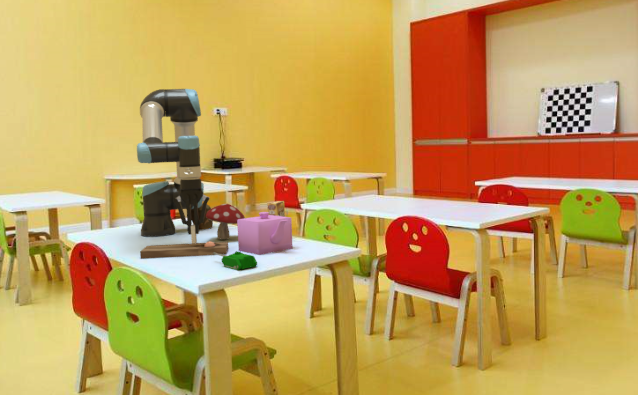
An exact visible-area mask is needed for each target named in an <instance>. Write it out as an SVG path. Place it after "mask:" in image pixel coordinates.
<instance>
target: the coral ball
mask: <svg viewBox="0 0 638 395" xmlns="http://www.w3.org/2000/svg"><path fill="white" fill-rule="evenodd" d="M213 242H214V241H210V240H209V241H206V242H204V243H205V245H204V247H211V246H215V244H214V243H213Z"/></svg>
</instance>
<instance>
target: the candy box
mask: <svg viewBox="0 0 638 395" xmlns="http://www.w3.org/2000/svg"><path fill="white" fill-rule="evenodd" d="M267 212H269V215H274V216H283V217H286V214H285V213H286V211H285V201H284V200H275V201H272V202H268V203H267Z"/></svg>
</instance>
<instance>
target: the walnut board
mask: <svg viewBox="0 0 638 395" xmlns="http://www.w3.org/2000/svg"><path fill="white" fill-rule="evenodd" d="M212 242H213V243H214V244H215V246H211V247H204V245H205V243H206V242H198V243H197V242H196V243H194V244H192V243H177V244H175V243H174V244H155V245H154V244H151V245H146V246H145V247H144V248H142V249H141V251H140V257H139V258H140V259H141V260H142V259H157V258H158V259H160V258H162V259H163V258H178V257H179V258H180V257H198V256H215V255H214V254H213V252H215V253H218V254H222V255H227V254H228V251H229V242H228V241H217V242H216V241H215V242H214V241H212Z"/></svg>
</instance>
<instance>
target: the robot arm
mask: <svg viewBox="0 0 638 395" xmlns="http://www.w3.org/2000/svg"><path fill="white" fill-rule="evenodd" d="M201 112H202V111H201V106H200V100H199V96H198V92H197V91H196V89H191V88H172V89H171V88H170V89H169V88H167V89H165V88H161V89H156V90H153V91H152V92H150V93H148V95H146V96H145V97H144V98H143V100H142V101H141V103H140V106H139V116H140V117H141V118H142V142H139V143H137V145H136V156H137V158H136V159H137V162H138V163H140V164H155V163H156V164H159V163H176V177H175V178H174V179H173V183H170V182H169V181H168V180H164V181H158V182H151V183H149V184H148V183H147V184H146V185H143V187H142V194H141V196H142V204H143V205H142V206H143V221H142V224H141V229H140V235H141V236H142V237H161V236H163V237H164V236H170V235H174V234H176V231H177V229H176V226H175V223H174V221H173V219H172V218H173V217H172V216H171V214H172V213H171V211H173V210H174V211H175V210H178V214H179V217H180V219H181V224H183V225H186V226H187V234H188V235H190V237H191V238H190V239H191V244H194V243H197V235H198V234H200V229H199V224H201V223H203V221H204V216H205V211H206V206H207V205H208V202H209V200H210V199H211V198H210V196H207V195H205V194H204V192H205V189H204V188H205V186H204V183H203V182H202V179H201V177H202V169H201V168H202V166H201V154H200V152H201V151H200V150H201V148H200V146H201V144H200V138H199V136H198V135H196V132H195V131H196V130H195V129H196V127H195V125H196V123H197V122H198V117H199V118H200V117H201V116H202V113H201ZM165 117H166V118H170V120H169V121H170V123H172V124H173V127H174V141H168V142H167V141H165V142H164V138H163V137H164V136H163V135H164V134H163V120H162V118H165ZM202 203H203V206H202ZM201 206H202V211H201V217H200V220H199V218H198V208H199V207H201ZM193 208H194V221H195V225H193V222H192V220H191V209H193ZM184 210H186V215H185V212H184Z"/></svg>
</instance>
